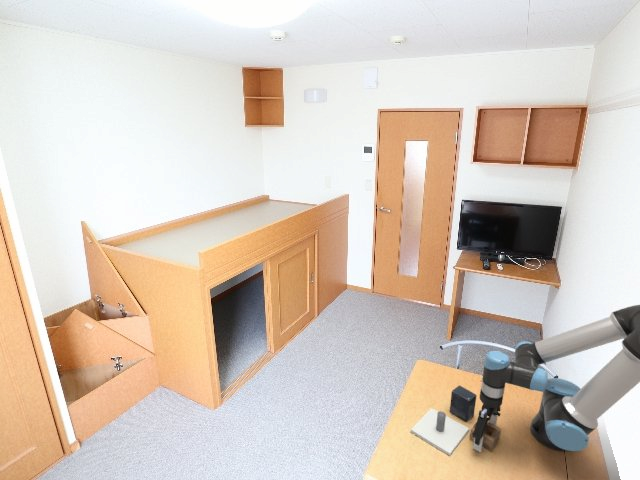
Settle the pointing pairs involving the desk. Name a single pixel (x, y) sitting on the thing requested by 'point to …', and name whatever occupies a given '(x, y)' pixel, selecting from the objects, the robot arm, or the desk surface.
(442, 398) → the desk surface
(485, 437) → the collar
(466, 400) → the box
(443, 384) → the desk surface
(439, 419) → the thin white baseboard
